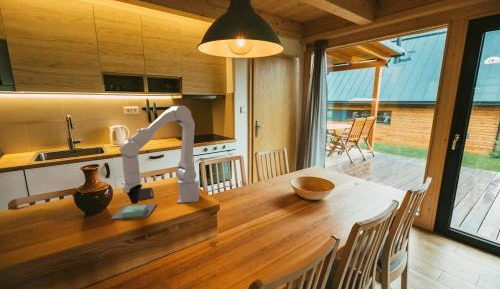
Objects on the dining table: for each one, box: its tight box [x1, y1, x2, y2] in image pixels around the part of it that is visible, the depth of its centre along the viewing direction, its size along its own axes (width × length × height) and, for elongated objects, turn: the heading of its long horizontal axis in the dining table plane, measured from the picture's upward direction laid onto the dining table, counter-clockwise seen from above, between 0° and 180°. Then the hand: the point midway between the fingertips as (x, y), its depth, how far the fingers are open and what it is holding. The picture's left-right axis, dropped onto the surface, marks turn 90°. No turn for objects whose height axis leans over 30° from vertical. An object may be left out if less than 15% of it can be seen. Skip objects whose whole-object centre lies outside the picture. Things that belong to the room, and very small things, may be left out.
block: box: [122, 204, 148, 217], centre depth 95 cm, size 8×2×6 cm
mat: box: [110, 203, 157, 221], centre depth 98 cm, size 14×12×1 cm
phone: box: [138, 187, 154, 202], centre depth 118 cm, size 8×1×15 cm
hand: (134, 203), depth 95 cm, fingers closed
